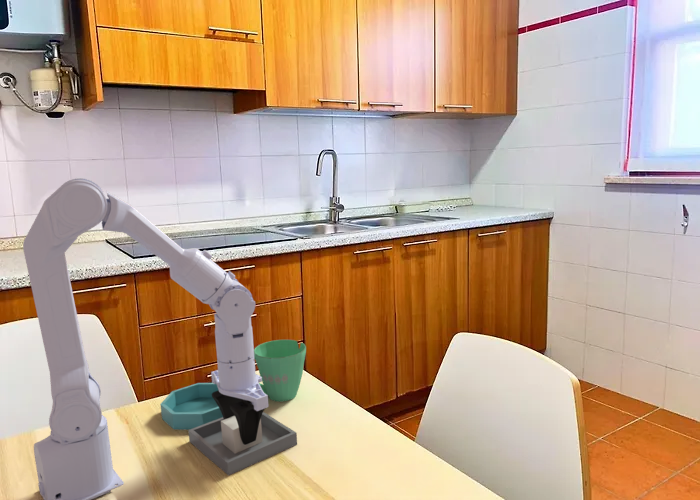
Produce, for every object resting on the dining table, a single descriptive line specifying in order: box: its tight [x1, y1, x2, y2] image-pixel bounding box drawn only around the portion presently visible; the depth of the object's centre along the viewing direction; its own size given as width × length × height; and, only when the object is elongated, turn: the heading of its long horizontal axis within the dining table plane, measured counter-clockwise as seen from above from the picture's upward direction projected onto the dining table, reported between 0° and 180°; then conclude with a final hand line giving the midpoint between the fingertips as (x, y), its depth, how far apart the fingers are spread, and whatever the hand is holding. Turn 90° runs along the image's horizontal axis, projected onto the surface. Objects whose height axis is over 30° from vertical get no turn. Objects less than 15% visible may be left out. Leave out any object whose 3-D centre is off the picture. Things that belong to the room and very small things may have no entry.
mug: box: [254, 339, 307, 403], centre depth 105 cm, size 15×10×10 cm
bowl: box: [160, 382, 223, 431], centre depth 99 cm, size 13×13×3 cm
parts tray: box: [187, 411, 298, 477], centre depth 88 cm, size 12×13×2 cm
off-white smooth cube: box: [221, 416, 263, 453], centre depth 88 cm, size 5×4×4 cm
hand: (242, 436), depth 88 cm, fingers closed on off-white smooth cube, 4 cm apart
